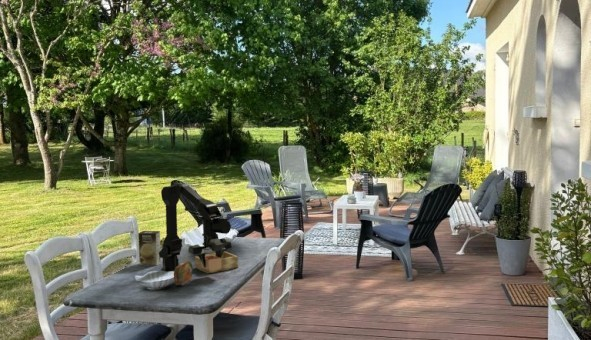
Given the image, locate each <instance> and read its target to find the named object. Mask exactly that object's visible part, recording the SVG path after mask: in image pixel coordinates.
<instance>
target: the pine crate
mask: <svg viewBox="0 0 591 340" xmlns="http://www.w3.org/2000/svg"><path fill="white" fill-rule="evenodd" d="M209 255H215V256H216V253H215V252H214V253H208V254H207V253H206V255H205V256H209ZM194 265H195V266H194V268H195V269H197V270H198V271H201V272H203V273H204V274H214V273H217V272H223V271H228V270H234V269H238V268H239V256H238V255H235V254H234V253H230V252H228V251H224V252H223V254H222V256H221V268H222V269H221V270H215V271H210V272H209V271H207V270H205V269H202V268H201V260H200V258H199V257H198V255H197V256H194Z"/></svg>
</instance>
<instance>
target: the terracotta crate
mask: <svg viewBox="0 0 591 340" xmlns="http://www.w3.org/2000/svg"><path fill="white" fill-rule="evenodd" d="M205 262H206V267H205V268H204V267H203V264H202V262H201V268H202V269H205V270H207V271H209V272H210V271H215V270H221V269H222V268H221V258H219V257H217V256H215V255H209V256H205Z"/></svg>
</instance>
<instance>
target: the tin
mask: <svg viewBox="0 0 591 340" xmlns="http://www.w3.org/2000/svg"><path fill="white" fill-rule="evenodd" d="M193 270H194V269H193V265H192V262H191V261H183V262H181V263H180V264H179V265H178V266H177V267H176V268H175V270H173V279H174V283H175V285H176V286H185V285H186V284H187V283H188V282H190V281H191V280H192V278H193V273H194V272H193Z"/></svg>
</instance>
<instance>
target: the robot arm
mask: <svg viewBox="0 0 591 340" xmlns="http://www.w3.org/2000/svg"><path fill="white" fill-rule="evenodd" d="M160 192H161V200H162V202H163V203H164V205H165V228H166V235H165V238H164V240H163V241H162V242H163V243H162V248H160V252H159V256H160V258H161V260H162V267H161V269H162V270H163V271H165V272H170V271H174V270H175V268H176V267H177V266H178V265H180V264H179V263H180V262H179V258H178V256H180V255H181V251H182V248H183V247H184V246H183V238H181V237H180V236H179V235H178V209H177V207H178V206H177V205H178V203H179V201H180V199H181V195H182V196H184V198H185V199H187V200H188V201H189V202H190V203H191V204H193V205H194V207H196V210H197V213H199V214H200V216H201V218H199V220H198V221H199V222H202V234H201V235H202V236H201V237H202V238H203V242H202V246H200V245H198V244H194V245H189V246H188V253H189V254H191V255H197V256H198V257H199V258H200V260H201V262H202V264H203V267H204V268H205V267H206V262H205V255H207V253H206V252H205V251H208V250H211V251H212V252H214V253H216V256H217V257H219V258H221V256H222V254H223V252H224V251H225V252H227V250H228V249H229V250H230V249H233V245H232V242H231V241H229V240H227V239H226V237H222V238H219V235H218V234H225V235H226V234H227V235H228V234H229V233H230V232H231V230H232V225H231V222H230V221H229V220H228V218H227V217H224V216H223V215H222V213H221V211H220V208H218V205H217V204H216V203H215V202H214V201H211V200H209V199H205V198H204V197H203V196H202V195H201V194H200V193H198V192H197V191H196V190H194V189H193V188H192V187H191V186H190V185H189V184H188V183H187V182H186V183H185V182H183V183H178V184H176V185H175V184H174V185H169V186H163V187H162V188H161V191H160Z"/></svg>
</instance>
